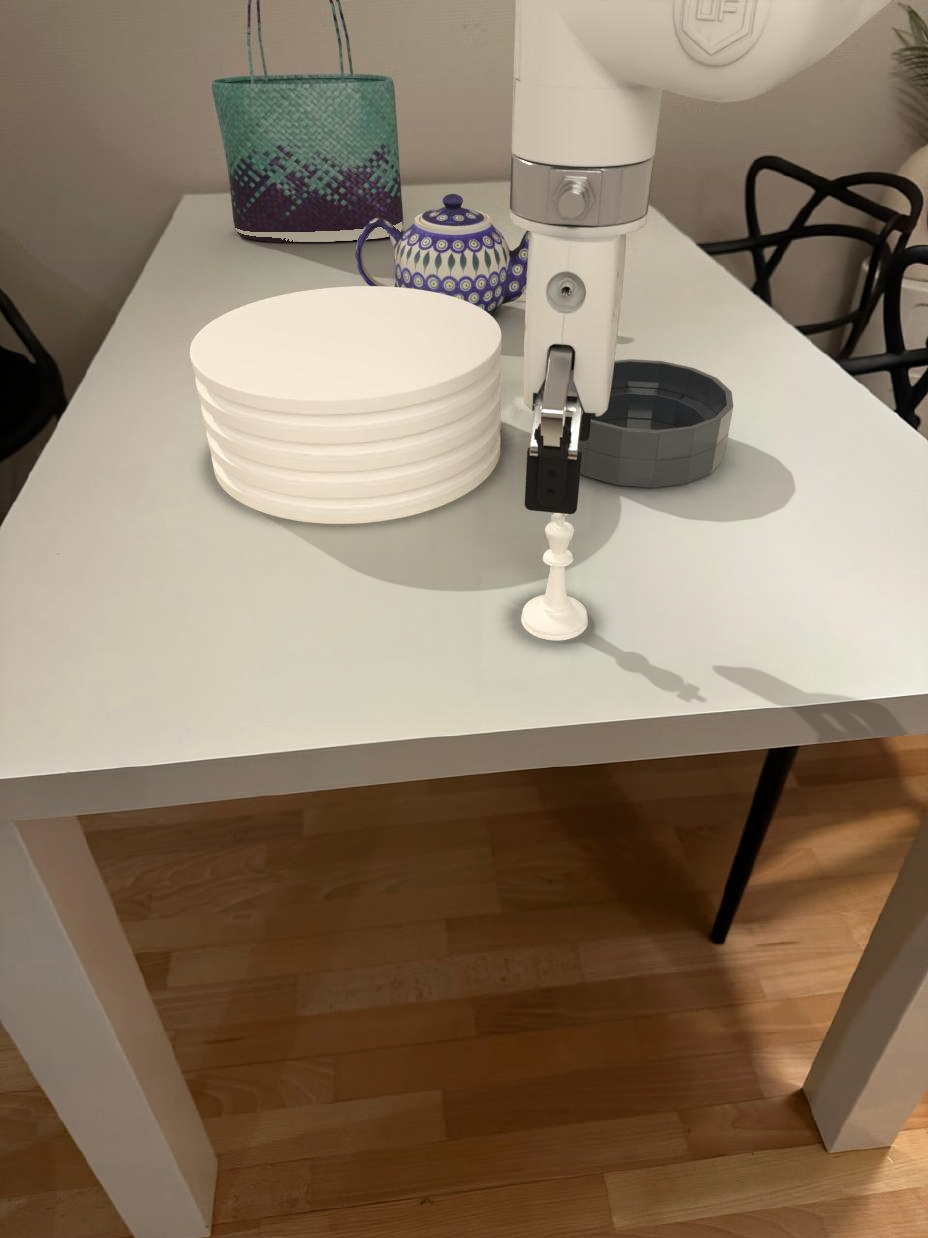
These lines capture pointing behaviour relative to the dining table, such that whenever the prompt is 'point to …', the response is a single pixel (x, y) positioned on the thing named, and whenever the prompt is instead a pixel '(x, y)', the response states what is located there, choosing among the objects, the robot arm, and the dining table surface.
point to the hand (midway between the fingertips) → (558, 471)
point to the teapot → (454, 256)
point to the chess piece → (556, 591)
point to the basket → (309, 148)
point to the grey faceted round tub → (658, 426)
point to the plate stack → (351, 402)
